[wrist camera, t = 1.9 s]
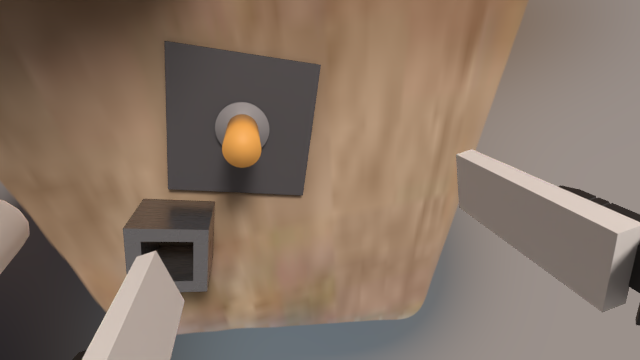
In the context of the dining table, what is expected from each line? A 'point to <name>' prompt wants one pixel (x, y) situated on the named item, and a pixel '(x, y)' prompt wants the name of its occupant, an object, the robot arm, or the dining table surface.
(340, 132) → the dining table surface
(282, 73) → the mat
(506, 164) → the robot arm
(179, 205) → the socket
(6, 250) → the foam cup
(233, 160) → the post
